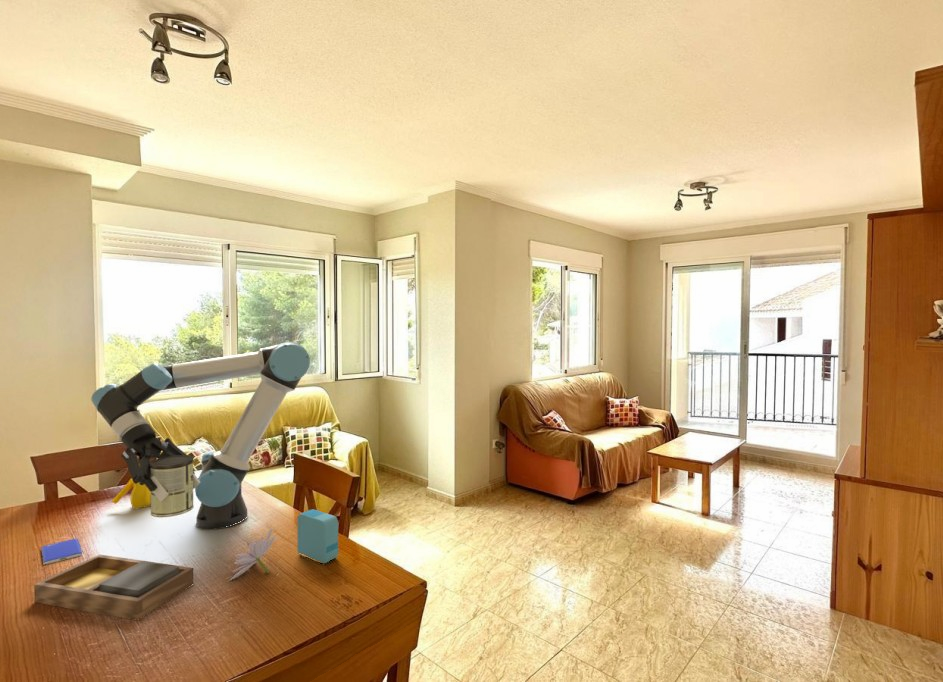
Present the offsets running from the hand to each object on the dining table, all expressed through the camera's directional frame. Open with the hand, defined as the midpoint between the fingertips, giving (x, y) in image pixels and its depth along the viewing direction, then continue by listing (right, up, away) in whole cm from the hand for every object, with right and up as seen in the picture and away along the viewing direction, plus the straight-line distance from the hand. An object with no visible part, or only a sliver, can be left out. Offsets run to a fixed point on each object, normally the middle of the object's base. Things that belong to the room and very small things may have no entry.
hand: (181, 491), depth 133 cm
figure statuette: (-38, -18, +41) cm, 59 cm away
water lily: (+22, -20, -5) cm, 30 cm away
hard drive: (-37, -20, +5) cm, 42 cm away
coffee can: (-3, -6, +1) cm, 6 cm away
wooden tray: (-6, -19, -16) cm, 26 cm away
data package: (+37, -19, +3) cm, 41 cm away
